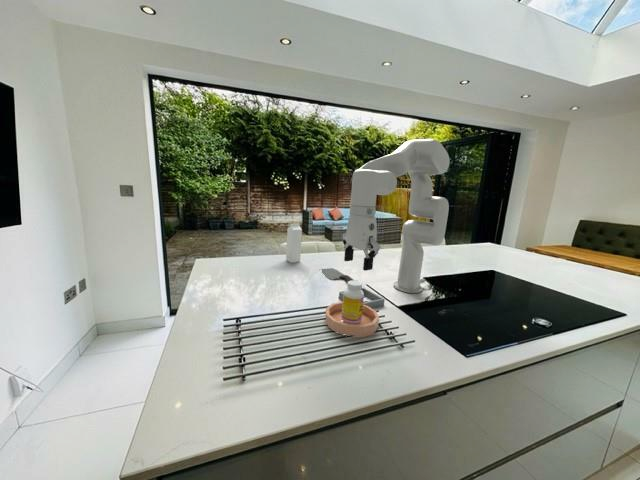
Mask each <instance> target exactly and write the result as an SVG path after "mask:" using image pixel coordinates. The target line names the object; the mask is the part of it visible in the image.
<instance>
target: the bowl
mask: <svg viewBox="0 0 640 480" xmlns="http://www.w3.org/2000/svg"><path fill="white" fill-rule="evenodd" d="M342 306H343V301H338V302H335V303H330V305H329V306H328V307H326V308H325V317H324V319H325V318H326V321H325V325H326V324H327V325H328V326H329V327H330V328H331V329H332V330H333V331H335V332H338V333H341V334H346V335H355V337H354V338H365V337H369V336H372V335H374V334H375V333H376V331H377V330H378V328H379V322H380V317H379V315H378V312H377V311H376V310H375V309H374V308H370V307H369V306H366V305H363V309H362V318H361V321H360V322H359V323H356V324H351V323H347V322H345V321H343V319H342ZM327 325H326V326H327ZM328 326H327V327H328ZM329 327H328V328H329ZM330 328H329V329H330ZM331 329H330V330H331ZM332 330H331V331H332ZM333 331H332V332H333ZM335 332H334V333H335ZM374 332H375V333H374ZM338 333H337V334H338ZM341 334H340V335H341Z"/></svg>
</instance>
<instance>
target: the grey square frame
mask: <svg viewBox="0 0 640 480" xmlns="http://www.w3.org/2000/svg"><path fill="white" fill-rule="evenodd" d="M361 290H362V291H363V292H364V297H367V298H369V299H370V300H369V301H363V305H366V306H369V307H374V308H378V307H381V306H385V298H383V297H381V296H379V294H378V295H377V294H376V293H374V292H373V291H371V290H369V289H367V288H365V287H362V288H361ZM343 295H344V290H343V291H342V290H341V291H339V293H338V299H340V300H342V301H343Z"/></svg>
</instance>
